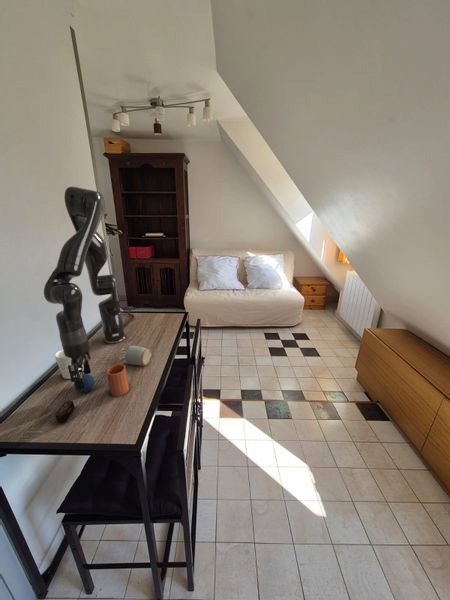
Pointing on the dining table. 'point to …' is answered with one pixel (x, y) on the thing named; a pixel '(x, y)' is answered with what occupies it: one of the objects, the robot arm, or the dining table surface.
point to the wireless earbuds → (65, 412)
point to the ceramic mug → (137, 355)
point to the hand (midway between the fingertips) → (84, 380)
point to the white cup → (63, 363)
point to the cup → (117, 379)
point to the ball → (86, 383)
